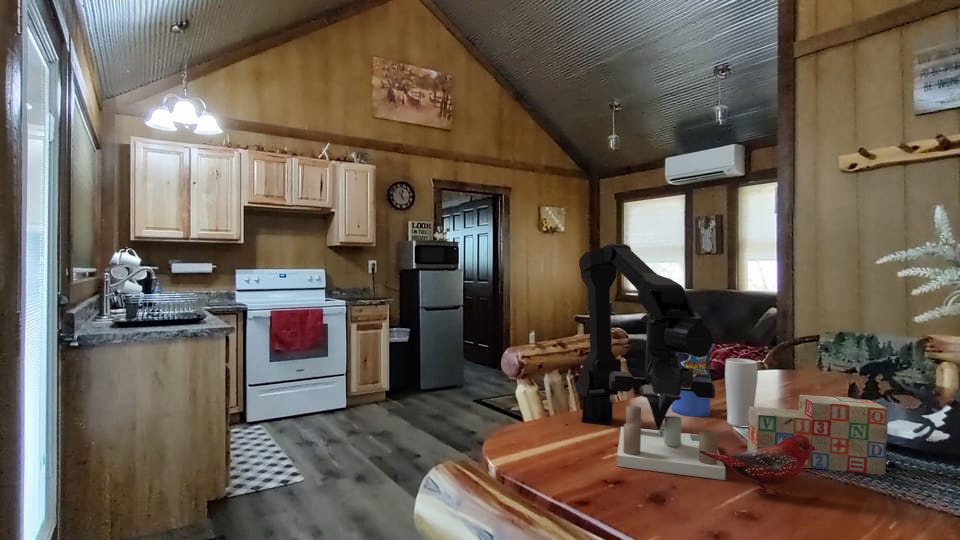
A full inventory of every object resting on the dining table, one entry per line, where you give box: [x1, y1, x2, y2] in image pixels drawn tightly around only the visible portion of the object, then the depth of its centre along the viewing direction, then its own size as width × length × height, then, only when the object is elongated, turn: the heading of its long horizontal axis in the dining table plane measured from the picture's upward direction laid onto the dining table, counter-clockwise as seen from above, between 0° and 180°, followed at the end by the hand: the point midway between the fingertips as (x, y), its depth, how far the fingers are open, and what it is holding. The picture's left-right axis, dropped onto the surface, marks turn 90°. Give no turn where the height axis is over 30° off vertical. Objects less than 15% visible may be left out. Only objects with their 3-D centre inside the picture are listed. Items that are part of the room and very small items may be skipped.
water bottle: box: [671, 312, 713, 418], centre depth 133 cm, size 9×9×25 cm
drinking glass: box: [724, 357, 759, 427], centre depth 123 cm, size 7×7×15 cm
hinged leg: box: [658, 415, 682, 446], centre depth 105 cm, size 9×3×5 cm, turn 171°
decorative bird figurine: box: [699, 435, 817, 496], centre depth 86 cm, size 3×18×10 cm, turn 80°
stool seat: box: [616, 405, 726, 481], centre depth 102 cm, size 18×18×7 cm
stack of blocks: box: [747, 394, 889, 476], centre depth 100 cm, size 21×6×12 cm, turn 78°
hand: (658, 428), depth 102 cm, fingers closed
